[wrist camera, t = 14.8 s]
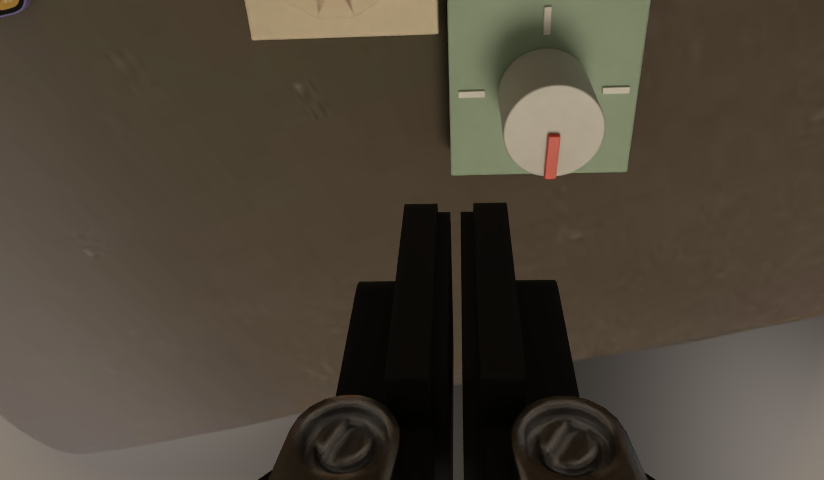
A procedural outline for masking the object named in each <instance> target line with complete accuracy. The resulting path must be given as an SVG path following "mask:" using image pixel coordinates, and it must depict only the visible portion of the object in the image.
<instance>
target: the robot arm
mask: <svg viewBox="0 0 824 480" xmlns="http://www.w3.org/2000/svg"><path fill="white" fill-rule="evenodd" d="M461 287H462V382H463V445H464V446H463V447H464V448H463V451H464V480H655V479H654V478H652V477H651V476H649V475H648V474H646V473H645V472H644V470H643V468H642V466H641V464H640V461H639V459H638V457H637V455H636V453H635V450H634V448H633V446H632V444H631V441H630V439H629V437H628V435H627V432H626V431H625V429H624V428H623V426H622V425H621V423H620V422H619V420H618V419H617V418H616V417H615V416H613V415H612V414H611V413H610V412H609V411H608V410H606V409H605V408H604V407H602V406H600V405H598V404H596V403H594V402H592V401H590V400H586V399H582V398H579V393H578V388H577V383H576V378H575V372H574V367H573V362H572V357H571V352H570V347H569V342H568V336H567V331H566V326H565V321H564V316H563V311H562V306H561V300H560V295H559V290H558V286H557V282H556V281H555V280H515V272H514V263H513V255H512V246H511V237H510V228H509V220H508V211H507V204H506V203H474V204H473V212H461ZM258 480H453V303H452V261H451V219H450V212H438V205H437V204H405V206H404V213H403V222H402V230H401V239H400V247H399V256H398V264H397V273H396V281H376V282H359V283H358V285H357V288H356V293H355V298H354V304H353V309H352V314H351V319H350V325H349V330H348V335H347V340H346V346H345V351H344V356H343V361H342V367H341V372H340V377H339V382H338V388H337V393H336V397H332V398H328V399H324V400H322V401H320V402H318V403H316V404H314V405H312V406H310V407H309V408H308V409H307V410H306V411H305V412H303V413H302V414H301V415H300V416H299V417H298V418H297V420H296V421H295V423H294V424H293V426H292V428H291V429H290V431H289V433H288V435H287V438H286V440H285V442H284V445H283V447H282V449H281V451H280V454H279V456H278V458H277V460H276V463H275V465H274V467H273V470H271V471H270V472H269V473H267V474H266V475H264V476H263V477H261V478H260V479H258Z"/></svg>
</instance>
